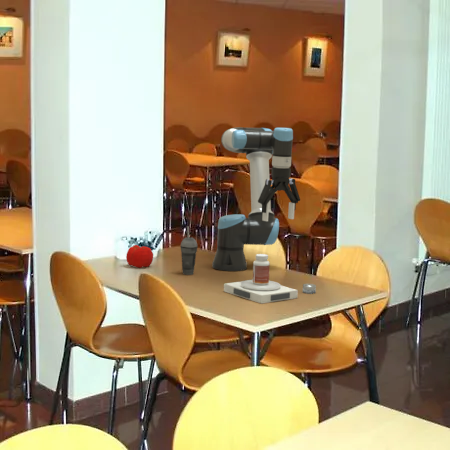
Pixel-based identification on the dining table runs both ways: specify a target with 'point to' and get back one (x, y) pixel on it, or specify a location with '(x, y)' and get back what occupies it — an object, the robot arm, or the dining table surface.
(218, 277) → the dining table surface
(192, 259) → the beverage cup
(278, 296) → the scale
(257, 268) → the pill bottle
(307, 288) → the shiny grey dome
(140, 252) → the tomato
